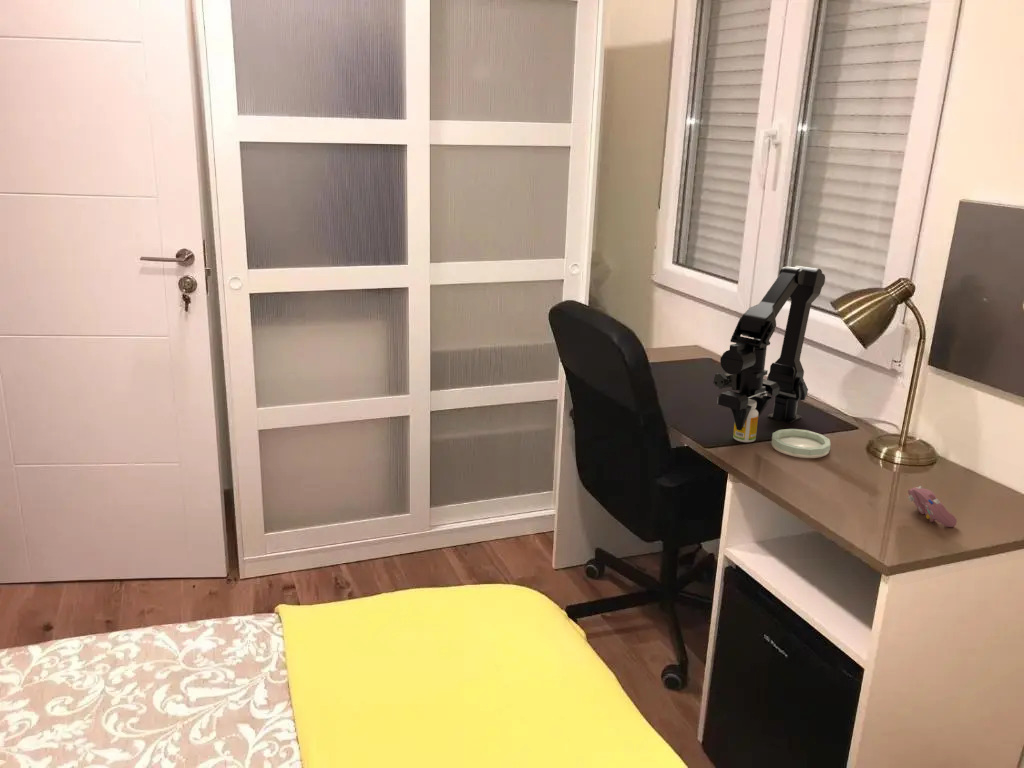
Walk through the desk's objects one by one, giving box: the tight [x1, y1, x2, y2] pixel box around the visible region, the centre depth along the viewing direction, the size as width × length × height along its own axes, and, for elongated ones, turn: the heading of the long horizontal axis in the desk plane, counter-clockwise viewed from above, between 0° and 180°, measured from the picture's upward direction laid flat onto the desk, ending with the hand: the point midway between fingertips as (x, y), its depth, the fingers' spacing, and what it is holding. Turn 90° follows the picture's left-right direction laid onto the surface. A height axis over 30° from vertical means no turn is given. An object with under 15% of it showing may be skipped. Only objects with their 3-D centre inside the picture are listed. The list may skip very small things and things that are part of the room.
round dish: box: [771, 428, 831, 459], centre depth 196 cm, size 13×13×2 cm
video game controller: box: [907, 485, 958, 528], centre depth 162 cm, size 10×5×7 cm, turn 4°
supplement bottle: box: [732, 399, 759, 443], centre depth 200 cm, size 5×5×10 cm
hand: (745, 427), depth 200 cm, fingers closed on supplement bottle, 5 cm apart
